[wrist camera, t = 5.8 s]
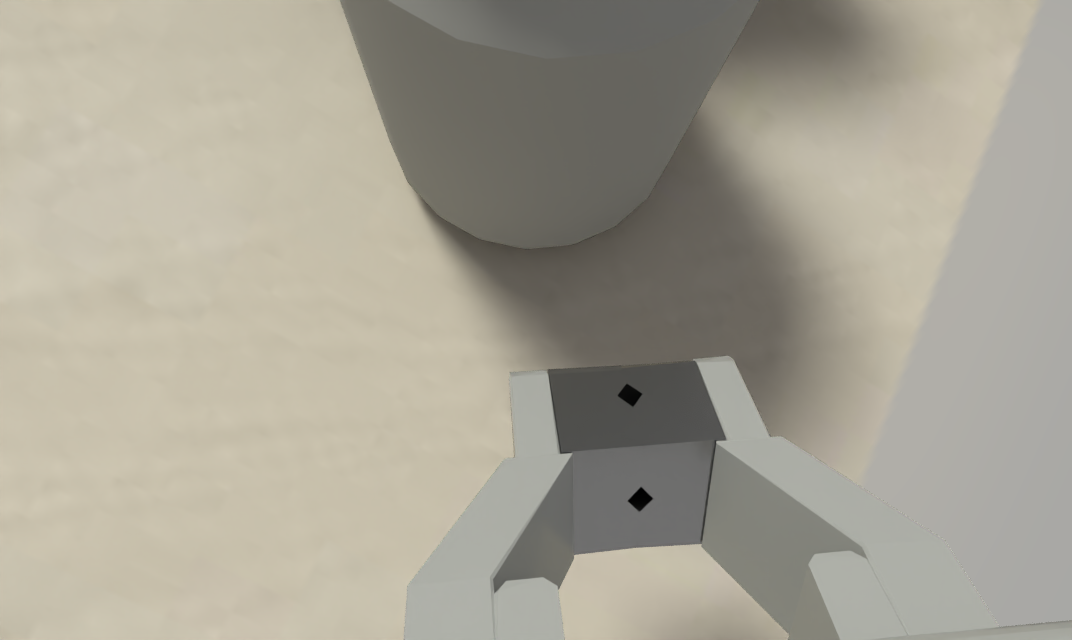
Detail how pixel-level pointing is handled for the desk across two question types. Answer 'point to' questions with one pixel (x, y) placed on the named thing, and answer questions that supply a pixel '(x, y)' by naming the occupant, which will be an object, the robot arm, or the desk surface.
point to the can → (540, 103)
